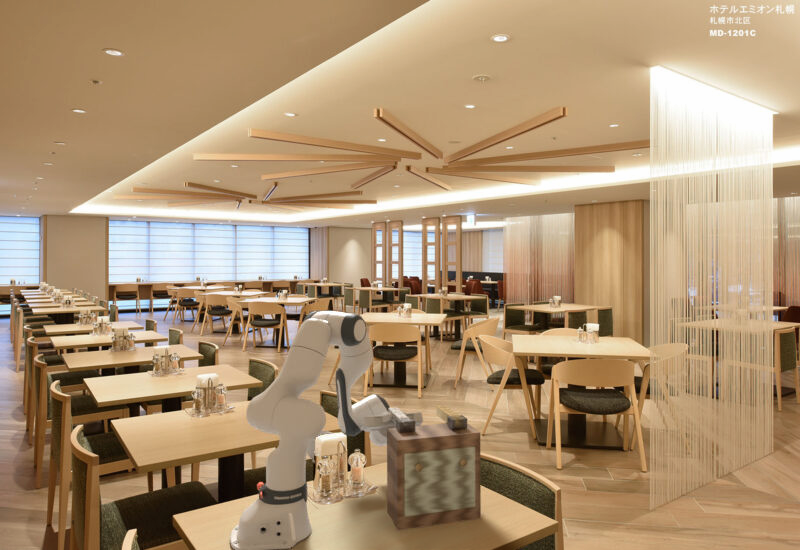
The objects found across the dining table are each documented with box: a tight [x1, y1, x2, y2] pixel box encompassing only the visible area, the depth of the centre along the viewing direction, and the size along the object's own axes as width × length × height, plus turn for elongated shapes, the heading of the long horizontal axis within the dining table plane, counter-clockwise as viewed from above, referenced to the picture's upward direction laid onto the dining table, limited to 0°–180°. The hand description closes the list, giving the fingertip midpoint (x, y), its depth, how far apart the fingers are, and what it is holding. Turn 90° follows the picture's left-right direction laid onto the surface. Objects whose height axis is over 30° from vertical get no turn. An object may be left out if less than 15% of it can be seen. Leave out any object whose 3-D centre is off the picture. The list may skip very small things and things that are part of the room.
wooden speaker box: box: [386, 422, 482, 531], centre depth 161 cm, size 26×14×26 cm, turn 106°
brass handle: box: [435, 404, 468, 430], centre depth 170 cm, size 5×17×3 cm, turn 16°
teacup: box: [307, 430, 333, 464], centre depth 209 cm, size 12×15×10 cm
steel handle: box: [388, 406, 415, 432], centre depth 168 cm, size 5×17×3 cm, turn 16°
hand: (397, 415), depth 171 cm, fingers closed on steel handle, 3 cm apart
